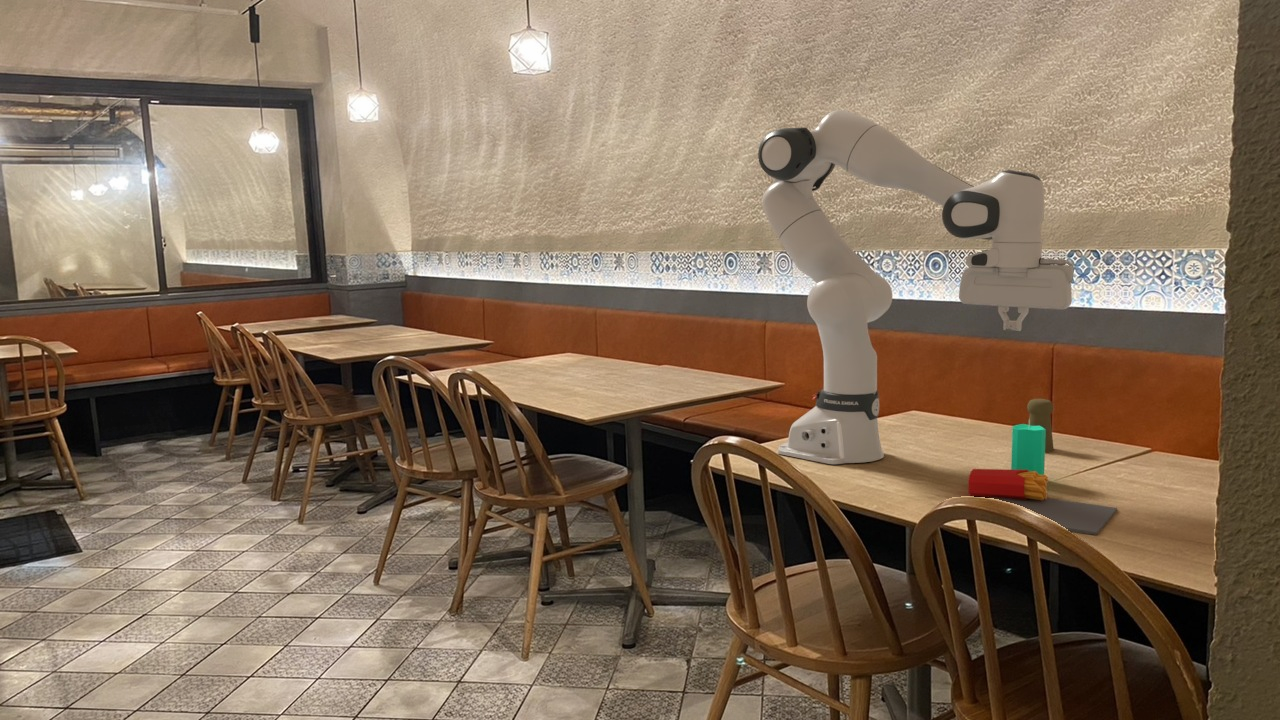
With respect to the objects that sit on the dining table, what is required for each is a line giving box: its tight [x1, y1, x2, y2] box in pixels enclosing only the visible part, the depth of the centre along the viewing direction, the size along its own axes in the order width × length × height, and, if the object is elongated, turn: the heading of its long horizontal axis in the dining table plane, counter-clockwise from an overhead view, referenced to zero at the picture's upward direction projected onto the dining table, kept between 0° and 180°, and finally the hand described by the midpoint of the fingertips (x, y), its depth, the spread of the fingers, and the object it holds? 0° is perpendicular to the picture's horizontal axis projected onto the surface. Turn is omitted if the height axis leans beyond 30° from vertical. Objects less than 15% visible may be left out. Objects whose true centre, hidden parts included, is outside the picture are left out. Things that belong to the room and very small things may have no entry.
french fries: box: [967, 468, 1049, 500], centre depth 179 cm, size 9×4×13 cm
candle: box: [1010, 418, 1046, 475], centre depth 189 cm, size 6×6×12 cm
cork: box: [1026, 398, 1054, 453], centre depth 214 cm, size 6×6×11 cm
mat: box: [989, 497, 1118, 536], centre depth 169 cm, size 20×16×1 cm
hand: (1012, 330), depth 189 cm, fingers closed
